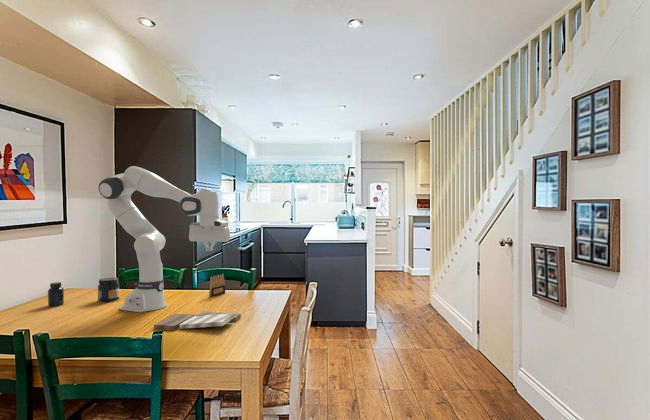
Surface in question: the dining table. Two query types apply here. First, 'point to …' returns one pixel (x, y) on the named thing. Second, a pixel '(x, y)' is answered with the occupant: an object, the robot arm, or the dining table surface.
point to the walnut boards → (177, 319)
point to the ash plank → (207, 321)
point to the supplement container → (108, 289)
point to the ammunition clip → (217, 286)
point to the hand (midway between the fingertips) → (209, 250)
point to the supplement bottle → (55, 294)
